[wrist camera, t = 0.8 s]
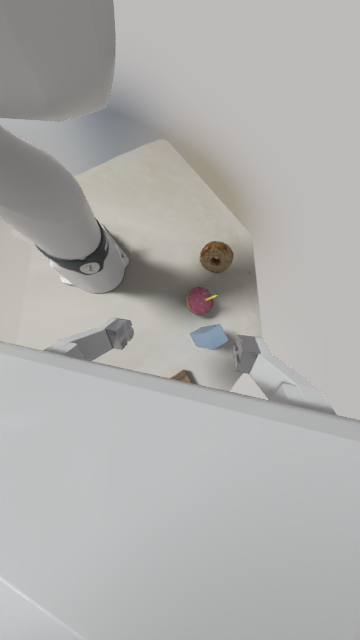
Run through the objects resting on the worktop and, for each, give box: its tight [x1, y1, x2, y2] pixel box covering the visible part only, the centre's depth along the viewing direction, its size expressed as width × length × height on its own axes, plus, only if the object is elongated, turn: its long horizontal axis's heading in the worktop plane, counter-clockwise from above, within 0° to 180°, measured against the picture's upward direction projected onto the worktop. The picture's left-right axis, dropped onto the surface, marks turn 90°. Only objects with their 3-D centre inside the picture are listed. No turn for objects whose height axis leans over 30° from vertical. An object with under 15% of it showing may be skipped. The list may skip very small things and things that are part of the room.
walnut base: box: [170, 370, 191, 383], centre depth 37 cm, size 9×9×2 cm
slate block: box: [190, 324, 229, 350], centre depth 36 cm, size 4×4×12 cm
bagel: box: [200, 241, 233, 272], centre depth 42 cm, size 10×4×10 cm, turn 69°
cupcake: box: [186, 287, 219, 315], centre depth 38 cm, size 9×8×12 cm
